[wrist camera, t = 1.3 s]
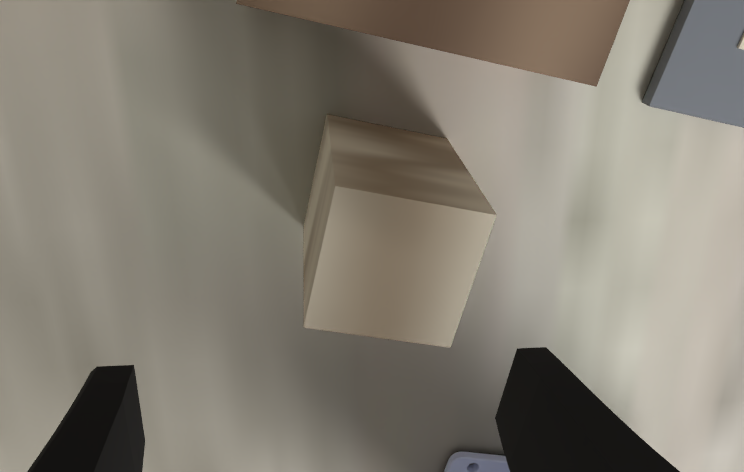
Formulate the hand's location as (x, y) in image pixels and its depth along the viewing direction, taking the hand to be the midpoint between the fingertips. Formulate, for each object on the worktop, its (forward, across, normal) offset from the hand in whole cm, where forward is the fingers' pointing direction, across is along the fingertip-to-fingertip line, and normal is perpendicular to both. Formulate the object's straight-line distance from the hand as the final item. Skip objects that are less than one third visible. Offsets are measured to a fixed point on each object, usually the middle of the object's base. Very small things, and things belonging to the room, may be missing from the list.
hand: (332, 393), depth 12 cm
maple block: (+10, -3, +1) cm, 10 cm away
